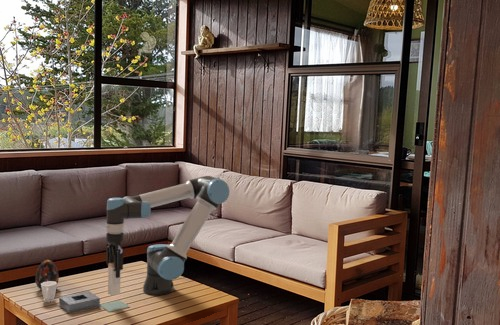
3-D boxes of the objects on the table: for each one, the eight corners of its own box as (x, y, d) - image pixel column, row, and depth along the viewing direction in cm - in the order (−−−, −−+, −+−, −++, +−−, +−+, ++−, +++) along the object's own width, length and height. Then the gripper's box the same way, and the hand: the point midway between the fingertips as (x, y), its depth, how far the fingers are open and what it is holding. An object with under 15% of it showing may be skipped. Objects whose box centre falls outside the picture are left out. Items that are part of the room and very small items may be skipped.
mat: (119, 300, 243) (119, 300, 243) (129, 307, 235) (129, 306, 235) (99, 305, 236) (99, 304, 236) (109, 312, 229) (109, 311, 229)
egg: (48, 284, 262) (48, 255, 260) (63, 288, 257) (63, 259, 255) (30, 290, 252) (30, 260, 251) (45, 294, 247) (45, 264, 246)
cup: (57, 297, 245) (57, 280, 244) (55, 304, 235) (55, 287, 235) (42, 297, 243) (42, 281, 243) (38, 305, 234) (38, 288, 233)
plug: (116, 291, 238) (116, 261, 237) (120, 294, 235) (120, 264, 234) (108, 293, 235) (108, 263, 234) (111, 295, 232) (112, 265, 231)
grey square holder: (88, 299, 244) (88, 290, 243) (99, 306, 235) (99, 298, 234) (59, 305, 235) (59, 296, 234) (69, 313, 226) (69, 304, 225)
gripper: (99, 229, 236) (98, 279, 238) (115, 237, 224) (115, 289, 226) (114, 227, 241) (113, 276, 243) (131, 235, 228) (130, 286, 231)
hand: (114, 282), depth 235 cm, fingers closed on plug, 4 cm apart
